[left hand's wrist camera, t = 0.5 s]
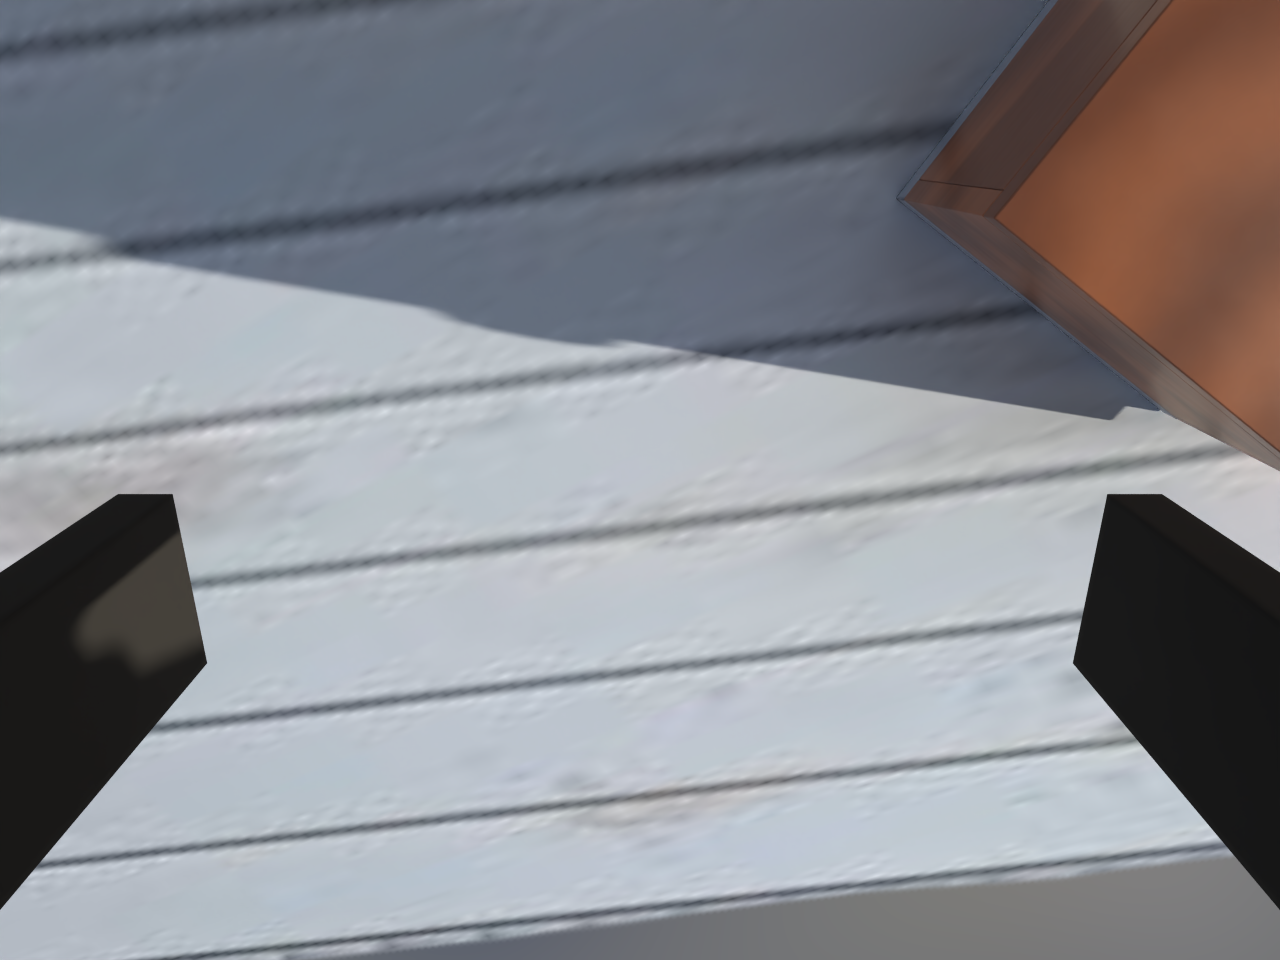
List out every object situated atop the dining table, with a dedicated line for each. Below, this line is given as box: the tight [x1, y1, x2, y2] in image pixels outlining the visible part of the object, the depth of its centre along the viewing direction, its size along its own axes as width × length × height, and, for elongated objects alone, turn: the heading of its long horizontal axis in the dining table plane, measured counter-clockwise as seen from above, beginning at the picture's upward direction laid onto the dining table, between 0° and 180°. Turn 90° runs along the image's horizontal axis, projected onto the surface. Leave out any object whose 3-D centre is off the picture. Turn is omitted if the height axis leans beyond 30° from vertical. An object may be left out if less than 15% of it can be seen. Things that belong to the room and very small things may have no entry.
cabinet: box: [896, 0, 1280, 471], centre depth 31 cm, size 16×11×11 cm
